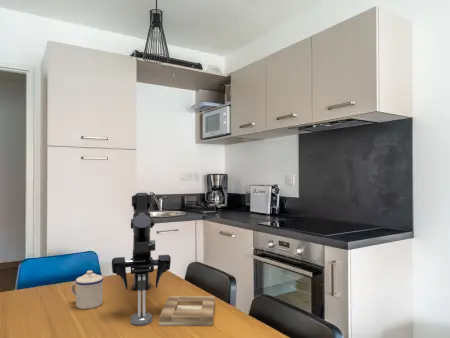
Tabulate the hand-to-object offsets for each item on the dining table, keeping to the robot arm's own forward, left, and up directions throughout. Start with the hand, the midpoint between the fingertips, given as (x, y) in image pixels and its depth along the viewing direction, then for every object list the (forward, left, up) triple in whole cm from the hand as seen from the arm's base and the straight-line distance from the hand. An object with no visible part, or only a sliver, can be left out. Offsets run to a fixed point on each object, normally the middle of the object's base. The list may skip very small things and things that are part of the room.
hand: (141, 287), depth 108 cm
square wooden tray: (-4, +14, -10) cm, 18 cm away
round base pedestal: (+2, 0, -10) cm, 10 cm away
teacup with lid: (-12, -23, -10) cm, 27 cm away
